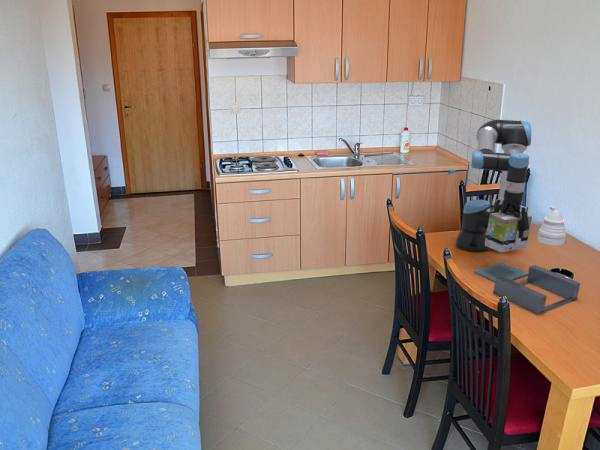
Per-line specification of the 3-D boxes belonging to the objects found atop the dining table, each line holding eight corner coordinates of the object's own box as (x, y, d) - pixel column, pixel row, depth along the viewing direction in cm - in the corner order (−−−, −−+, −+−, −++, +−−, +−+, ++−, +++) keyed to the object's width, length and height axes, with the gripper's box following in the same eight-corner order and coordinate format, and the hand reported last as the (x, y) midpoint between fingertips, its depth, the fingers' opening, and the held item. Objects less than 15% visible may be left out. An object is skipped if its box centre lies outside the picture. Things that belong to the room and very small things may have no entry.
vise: (493, 293, 216) (495, 277, 214) (541, 276, 232) (544, 261, 230) (537, 314, 200) (541, 297, 198) (586, 295, 216) (590, 279, 214)
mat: (473, 272, 235) (474, 271, 235) (502, 263, 245) (502, 262, 244) (500, 284, 224) (500, 283, 224) (528, 275, 234) (529, 273, 233)
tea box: (502, 253, 222) (507, 220, 217) (484, 245, 231) (488, 213, 226) (527, 248, 229) (532, 215, 224) (508, 240, 237) (513, 208, 232)
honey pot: (535, 242, 272) (540, 208, 266) (539, 234, 282) (545, 202, 276) (562, 247, 265) (569, 213, 259) (565, 239, 276) (572, 206, 270)
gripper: (485, 185, 229) (479, 234, 236) (532, 198, 211) (523, 251, 218) (497, 183, 233) (490, 231, 240) (544, 196, 214) (535, 247, 222)
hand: (506, 240), depth 229 cm, fingers closed on tea box, 10 cm apart
